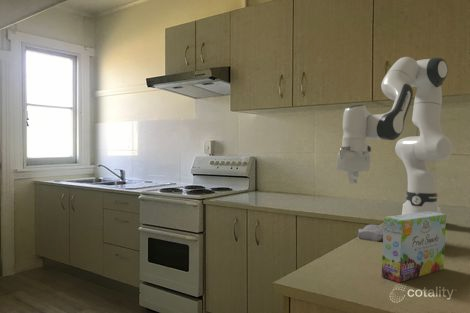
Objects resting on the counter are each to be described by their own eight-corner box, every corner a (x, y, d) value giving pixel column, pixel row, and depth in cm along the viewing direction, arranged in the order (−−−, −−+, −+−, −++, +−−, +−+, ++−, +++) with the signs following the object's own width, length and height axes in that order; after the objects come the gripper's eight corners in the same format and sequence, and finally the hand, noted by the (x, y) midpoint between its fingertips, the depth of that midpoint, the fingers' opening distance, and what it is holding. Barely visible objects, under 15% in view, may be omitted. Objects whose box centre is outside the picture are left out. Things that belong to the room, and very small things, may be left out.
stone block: (393, 242, 140) (367, 233, 146) (396, 230, 139) (370, 221, 145) (382, 249, 131) (355, 239, 137) (385, 236, 130) (358, 226, 136)
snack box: (402, 284, 89) (403, 219, 89) (380, 277, 93) (381, 216, 93) (445, 269, 101) (447, 212, 101) (424, 264, 106) (426, 210, 106)
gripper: (348, 146, 135) (347, 185, 135) (373, 148, 150) (372, 183, 150) (332, 146, 139) (331, 183, 139) (358, 147, 154) (357, 181, 154)
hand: (353, 183), depth 145 cm, fingers closed
